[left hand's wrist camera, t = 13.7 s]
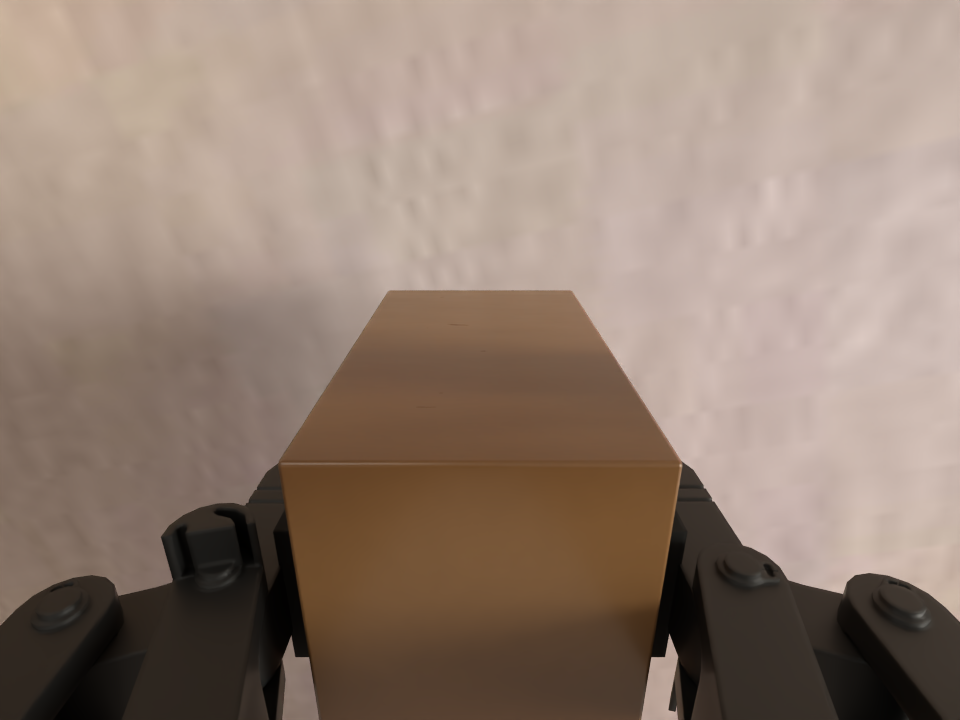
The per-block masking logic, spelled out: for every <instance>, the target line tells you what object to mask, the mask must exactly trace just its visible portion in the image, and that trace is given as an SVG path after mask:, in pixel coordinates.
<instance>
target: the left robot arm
mask: <svg viewBox="0 0 960 720" xmlns="http://www.w3.org/2000/svg"><path fill="white" fill-rule="evenodd" d="M681 462H682V461H681ZM703 486H704V485H703V484H702V482H701V481H700V479H699V478H698V476H697V475H696V473H695V472H694V470H693V469H691V468H690V467H689V466H687V465H686V464H685V463H683V462H682V472H681V478H680V484H679V490H678V496H677V502H676V508H675V514H674V521H673V527H672V533H671V539H670V545H669V551H668V557H667V563H666V569H665V576H664V582H663V588H662V594H661V600H660V606H659V612H658V618H657V624H656V631H655V637H654V643H653V649H652V655H651V657H665V654H666V648H667V643H668V637H669V634H670V636H671V639H672V641H673V644H674V647H675V649H676V652H677V654H678V661H677V667H676V672H675V677H674V682H673V687H672V692H671V698H670V704H669V710H670V711H674V712H675V711H676V706H677V712H678V720H960V622H959V621H958V620H957V619H956V618H955V617H954V616H953V615H952V614H951V613H950V612H949V611H948V610H947V609H946V608H945V607H944V606H943V605H942V604H940V603H939V602H938V601H937V600H935V599H934V598H933V597H932V596H930V595H929V594H928V593H926V592H924V591H922V590H921V589H919V588H917V587H915V586H913V585H911V584H910V583H907V582H904V581H902V580H899V579H896V578H893V577H890V576H886V575H879V574H872V573H867V574H861V575H855V576H854V577H853V578H852V579H850V580H849V581H848V582H847V584H846V587H845V590H844V593H843V594H840V593H836V592H831V591H827V590H823V589H818V588H814V587H810V586H805V585H802V584H798V583H795V582H792V581H789V580H787V578H786V576H785V575H784V573H783V572H782V570H781V568H780V567H779V566H778V565H777V564H775V563H774V562H773V561H772V560H771V559H770V558H768V557H767V556H766V555H764V554H762V553H760V552H758V551H756V550H754V549H752V548H749V547H746V546H743V545H742V544H741V542H740V540H739V539H738V537H737V536H736V534H735V533H734V531H733V530H732V528H731V527H730V525H729V524H728V522H727V521H726V519H725V518H724V516H723V514H722V513H721V511H720V510H719V508H718V507H717V505H716V504H715V502H712V498H711V496H710V495H709V493H708V492H707V490H706V489H704V487H703ZM161 539H162V542H163V546H164V549H165V553H166V557H167V560H168V564H169V567H170V571H171V575H172V578H173V581H172V583H169V584H166V585H163V586H159V587H156V588H151V589H147V590H143V591H138V592H134V593H130V594H125V595H121V596H118V595H117V592H116V589H115V586H114V584H113V583H112V582H111V581H109V580H108V579H107V578H106V577H99V576H93V575H90V576H83V577H76V578H72V579H69V580H66V581H63V582H60V583H57V584H54V585H52V586H50V587H48V588H47V589H45V590H43V591H41V592H39V593H37V594H36V595H34V596H32V597H31V598H30V599H29V600H27V601H26V602H25V603H24V604H23V605H21V606H20V607H19V608H18V609H16V610H15V611H14V612H13V613H12V614H11V615H10V616H9V617H8V619H7V620H6V621H5V622H4V623H3V624H2V625H1V626H0V720H282V714H283V702H284V691H285V673H284V667H283V661H282V658H283V655H284V653H285V650H286V648H287V645H288V642H289V640H290V637H291V635H292V641H293V646H294V652H295V657H309V653H308V646H307V640H306V634H305V628H304V622H303V616H302V610H301V604H300V597H299V591H298V585H297V579H296V573H295V567H294V561H293V555H292V548H291V542H290V536H289V530H288V524H287V518H286V512H285V505H284V499H283V493H282V487H281V481H280V475H279V469H278V464H277V465H276V466H274V467H273V468H272V469H270V470H269V471H268V472H267V473H266V474H265V476H264V477H263V479H262V481H261V482H260V484H259V485H258V487H257V490H255V491H254V493H253V494H252V496H251V497H250V499H249V503H247V504H246V505H245V506H243V505H239V504H235V503H219V504H213V505H209V506H205V507H201V508H198V509H196V510H194V511H192V512H190V513H187V514H185V515H183V516H182V517H180V518H179V519H178V520H176V521H175V522H174V523H172V524H171V525H170V526H169V527H168V528H167V530H166V531H165V532H164V534H163V535H162V536H161Z"/></svg>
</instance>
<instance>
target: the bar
mask: <svg viewBox="0 0 960 720" xmlns="http://www.w3.org/2000/svg"><path fill="white" fill-rule="evenodd" d="M278 469H279V475H280V481H281V487H282V493H283V499H284V505H285V512H286V518H287V524H288V530H289V536H290V542H291V548H292V555H293V561H294V567H295V573H296V579H297V585H298V591H299V597H300V604H301V610H302V616H303V622H304V628H305V634H306V640H307V646H308V653H309V659H310V665H311V671H312V677H313V683H314V689H315V696H316V702H317V708H318V714H319V720H641V716H642V710H643V704H644V698H645V692H646V686H647V680H648V673H649V667H650V661H651V655H652V649H653V643H654V637H655V631H656V624H657V618H658V612H659V606H660V600H661V594H662V588H663V582H664V576H665V569H666V563H667V557H668V551H669V545H670V539H671V533H672V527H673V521H674V514H675V508H676V502H677V496H678V490H679V484H680V478H681V472H682V462H681V460H680V458H679V457H678V455H677V454H676V452H675V451H674V449H673V448H672V446H671V444H670V443H669V441H668V440H667V438H666V437H665V435H664V434H663V432H662V430H661V429H660V427H659V426H658V424H657V423H656V421H655V420H654V418H653V416H652V415H651V413H650V412H649V410H648V409H647V407H646V406H645V404H644V402H643V401H642V399H641V398H640V396H639V395H638V393H637V391H636V390H635V388H634V387H633V385H632V384H631V382H630V381H629V379H628V377H627V376H626V374H625V373H624V371H623V370H622V368H621V367H620V365H619V363H618V362H617V360H616V359H615V357H614V356H613V354H612V353H611V351H610V349H609V348H608V346H607V345H606V343H605V342H604V340H603V339H602V337H601V335H600V334H599V332H598V331H597V329H596V328H595V326H594V325H593V323H592V321H591V320H590V318H589V317H588V315H587V314H586V312H585V311H584V309H583V307H582V306H581V304H580V303H579V301H578V300H577V298H576V297H575V295H574V293H573V292H572V291H388V293H387V294H386V296H385V297H384V299H383V300H382V302H381V303H380V305H379V307H378V308H377V310H376V311H375V313H374V314H373V316H372V317H371V319H370V321H369V322H368V324H367V325H366V327H365V328H364V330H363V331H362V333H361V335H360V336H359V338H358V339H357V341H356V342H355V344H354V345H353V347H352V349H351V350H350V352H349V353H348V355H347V356H346V358H345V359H344V361H343V363H342V364H341V366H340V367H339V369H338V370H337V372H336V373H335V375H334V377H333V378H332V380H331V381H330V383H329V384H328V386H327V387H326V389H325V391H324V392H323V394H322V395H321V397H320V398H319V400H318V401H317V403H316V405H315V406H314V408H313V409H312V411H311V412H310V414H309V415H308V417H307V419H306V420H305V422H304V423H303V425H302V426H301V428H300V429H299V431H298V433H297V434H296V436H295V437H294V439H293V440H292V442H291V443H290V445H289V447H288V448H287V450H286V451H285V453H284V454H283V456H282V457H281V459H280V461H279V463H278Z"/></svg>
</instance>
